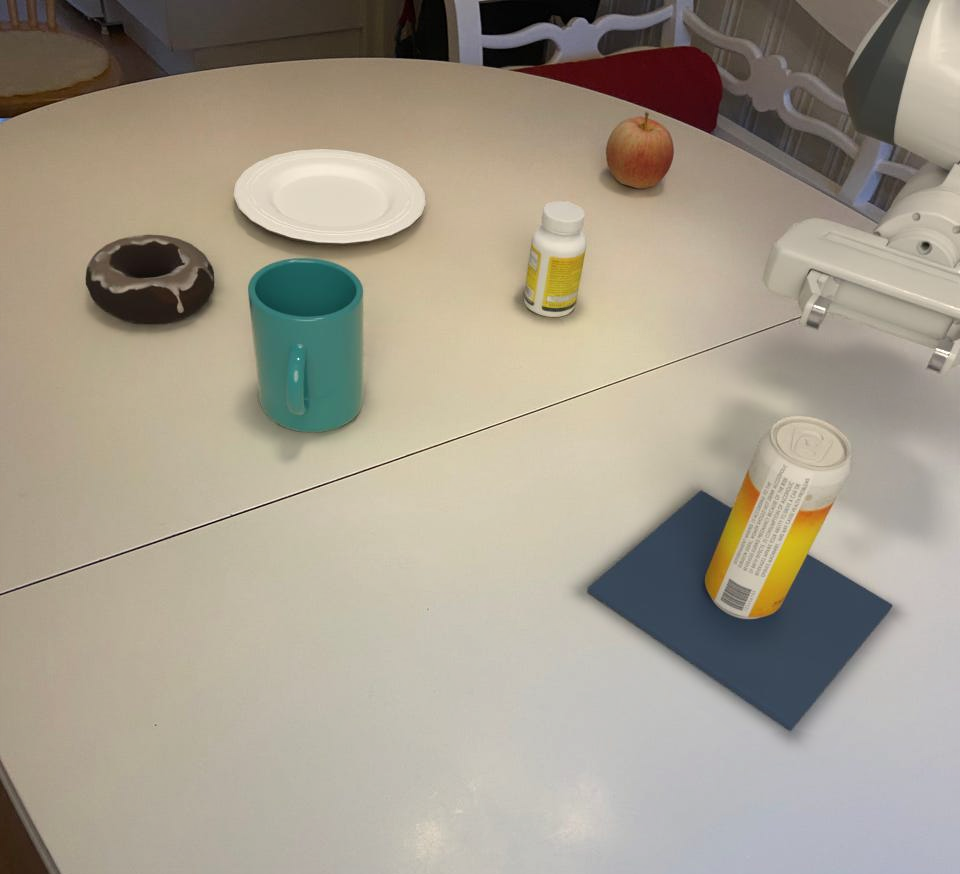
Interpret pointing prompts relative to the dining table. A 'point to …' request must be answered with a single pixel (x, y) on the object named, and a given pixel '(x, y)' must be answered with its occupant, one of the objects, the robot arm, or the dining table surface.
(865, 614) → the can mat
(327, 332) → the cup
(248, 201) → the plate
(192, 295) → the donut
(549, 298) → the supplement bottle
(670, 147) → the apple
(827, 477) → the beer can
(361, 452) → the dining table surface
